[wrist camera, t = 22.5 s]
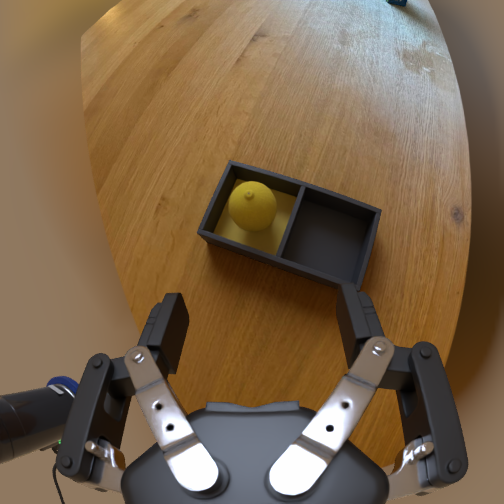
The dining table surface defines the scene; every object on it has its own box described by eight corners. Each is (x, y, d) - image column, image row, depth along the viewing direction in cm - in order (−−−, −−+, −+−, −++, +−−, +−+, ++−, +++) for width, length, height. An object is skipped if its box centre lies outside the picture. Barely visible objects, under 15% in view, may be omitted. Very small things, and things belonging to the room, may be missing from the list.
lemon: (286, 219, 36) (287, 194, 28) (254, 248, 35) (245, 230, 28) (258, 190, 37) (251, 160, 29) (226, 217, 37) (211, 193, 29)
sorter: (350, 294, 34) (359, 291, 29) (206, 242, 37) (196, 232, 33) (371, 221, 35) (381, 209, 31) (235, 175, 39) (229, 159, 34)
